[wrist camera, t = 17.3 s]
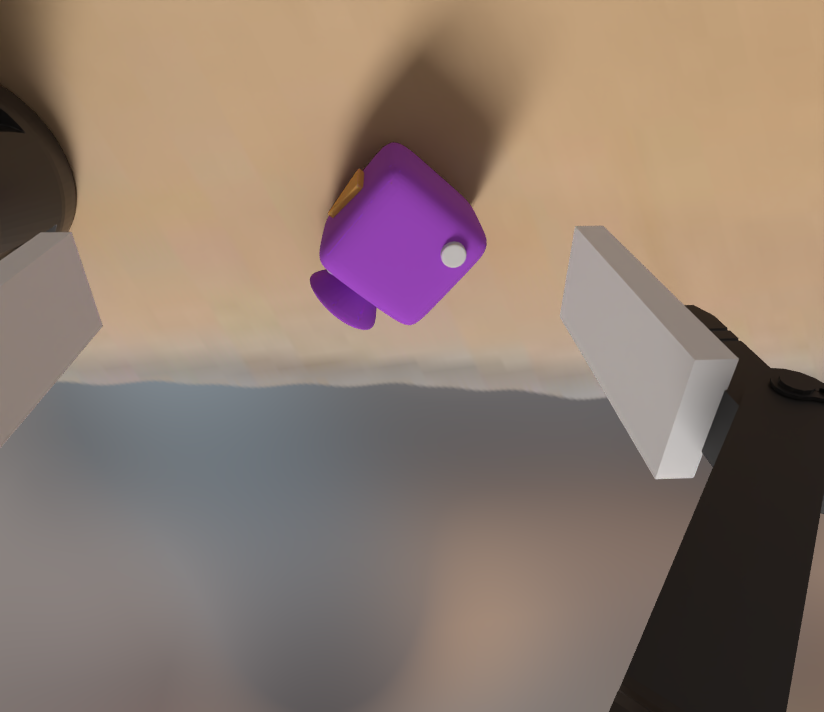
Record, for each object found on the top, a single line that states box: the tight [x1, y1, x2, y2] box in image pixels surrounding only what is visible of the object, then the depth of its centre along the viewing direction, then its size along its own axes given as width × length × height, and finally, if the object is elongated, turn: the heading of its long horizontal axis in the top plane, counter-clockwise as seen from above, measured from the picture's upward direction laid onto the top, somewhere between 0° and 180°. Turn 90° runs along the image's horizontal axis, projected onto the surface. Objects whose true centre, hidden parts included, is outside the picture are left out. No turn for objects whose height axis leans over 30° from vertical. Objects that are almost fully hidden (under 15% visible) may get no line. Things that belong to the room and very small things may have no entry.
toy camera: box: [310, 142, 486, 330], centre depth 43 cm, size 11×14×10 cm
